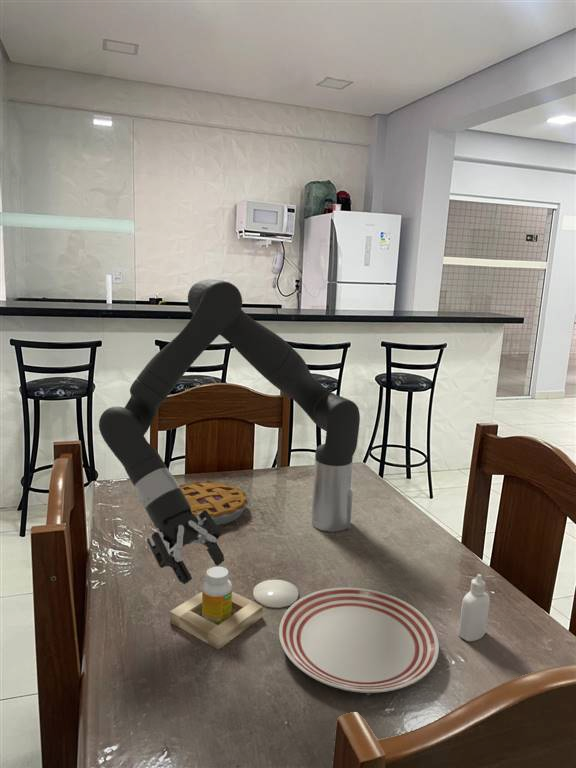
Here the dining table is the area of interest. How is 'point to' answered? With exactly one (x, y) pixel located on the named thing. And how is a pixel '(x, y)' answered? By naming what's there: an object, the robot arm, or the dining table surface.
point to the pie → (215, 500)
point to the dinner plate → (359, 640)
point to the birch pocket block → (207, 630)
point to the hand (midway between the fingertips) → (205, 572)
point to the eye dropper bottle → (474, 611)
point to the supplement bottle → (217, 595)
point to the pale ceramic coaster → (275, 593)
